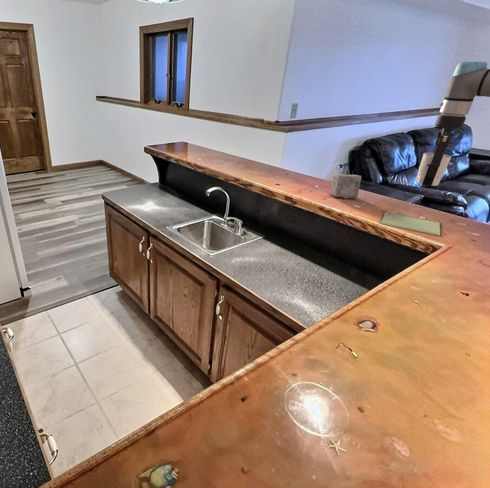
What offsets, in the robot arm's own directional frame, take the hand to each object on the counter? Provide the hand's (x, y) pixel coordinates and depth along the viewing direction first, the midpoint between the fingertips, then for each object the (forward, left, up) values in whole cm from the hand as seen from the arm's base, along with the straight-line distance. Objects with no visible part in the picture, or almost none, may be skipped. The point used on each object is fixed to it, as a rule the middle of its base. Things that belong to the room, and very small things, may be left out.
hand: (426, 182), depth 124 cm
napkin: (+1, +1, -16) cm, 16 cm away
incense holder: (+28, -17, -16) cm, 36 cm away
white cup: (0, 0, 0) cm, 0 cm away
